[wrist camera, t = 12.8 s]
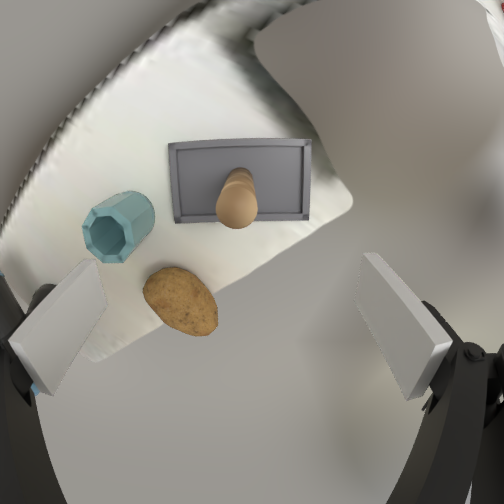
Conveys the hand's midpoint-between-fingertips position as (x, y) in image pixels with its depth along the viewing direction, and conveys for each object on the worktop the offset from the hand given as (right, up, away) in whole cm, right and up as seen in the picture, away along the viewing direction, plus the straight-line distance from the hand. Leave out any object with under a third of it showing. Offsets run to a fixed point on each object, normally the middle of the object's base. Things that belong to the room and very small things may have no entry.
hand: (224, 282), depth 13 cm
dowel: (0, +12, +27) cm, 29 cm away
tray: (0, +12, +28) cm, 30 cm away
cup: (-18, +7, +29) cm, 36 cm away
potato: (-10, -5, +35) cm, 37 cm away
